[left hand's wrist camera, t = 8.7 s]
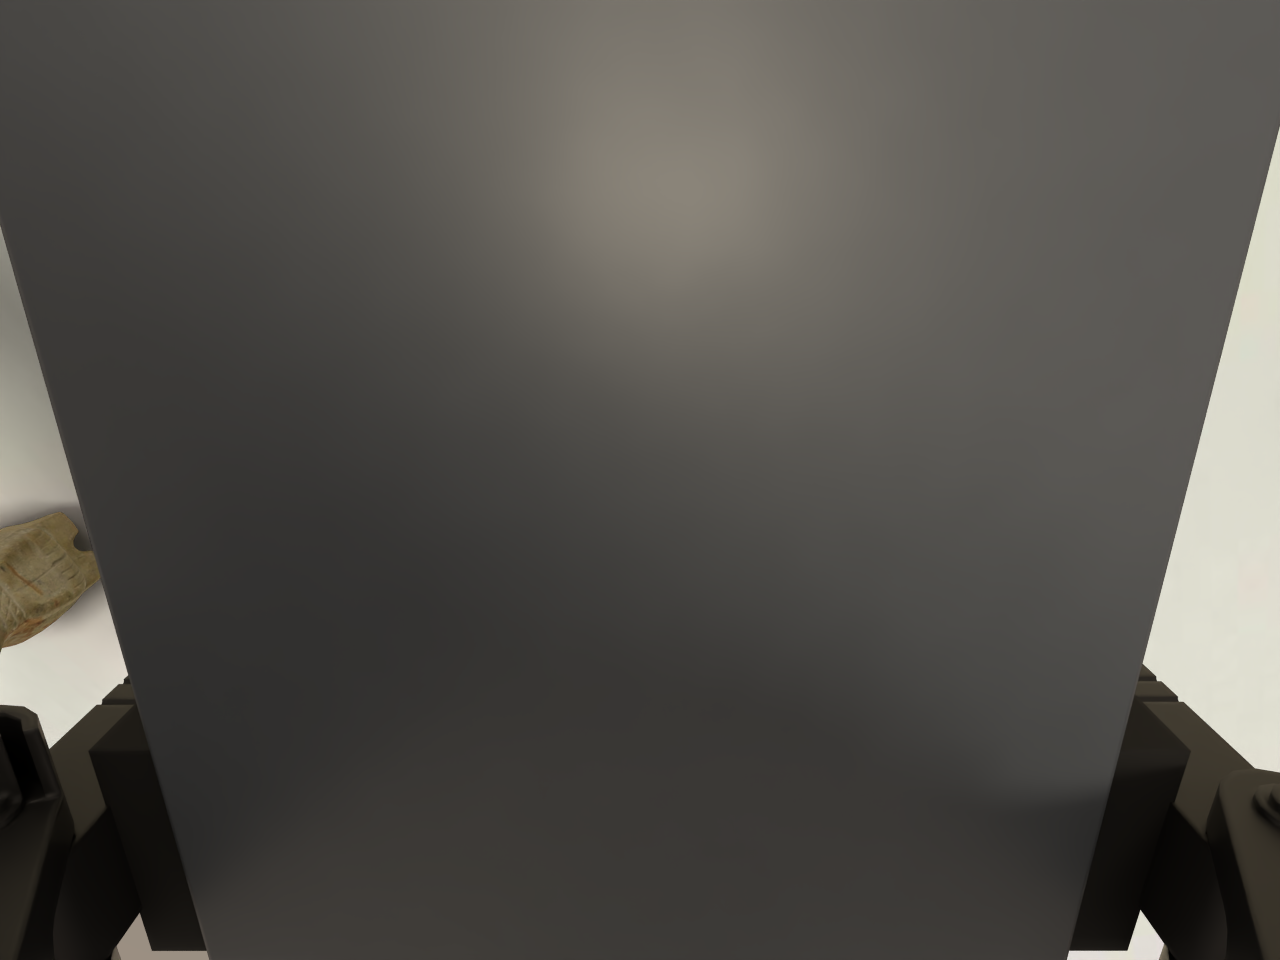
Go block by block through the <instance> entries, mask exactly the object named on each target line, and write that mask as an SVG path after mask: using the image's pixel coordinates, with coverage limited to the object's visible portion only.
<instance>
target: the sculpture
mask: <svg viewBox="0 0 1280 960" xmlns="http://www.w3.org/2000/svg"><path fill="white" fill-rule="evenodd" d="M78 532H79V531H78V529H77V528H76V526H75V525H74V524H73V522H72V521H71V520H70V519H69V518H68V517H67V516H66V515H65V514H64V513H61V512H57V513H54V514H50V515H47V516H44V517H42V518H40V519H37V520H34V521H31V522H27V523H24V524H19V525H14V526H9V527H6V528H2V529H0V652H1V649H2V648H4V647H9V646H13V645H17V644H19V643H22V642H24V641H26V640H28V639H29V638H31V637H33V636H34V635H36V634H38V633H40V632H41V631H43V630H44V629H45V628H47V627H48V626H49V625H51V624H52V623H53V622H55V621H56V620H57V619H58V618H59V617H61V616H62V615H63V614H64V613H65V612H66V611H67V610H69V609H70V608H71V607H72V606H73V605H74V604H75V602H76V601H77V600H78V598H79V597H80V596H81V595H82V593H83V592H85V591H86V590H87V589H88V588H90V587H91V586H92V585H93V584H94V583H96V582H97V581H98V580H99V579H100V578H101V577H100V573H99V570H98V566H97V563H96V559H95V556H94V552H93V551H90V550H87V551H79V550H77V549H76V548H75V547H74V544H73V541H74V538H75V536H76V535H77V534H78Z"/></svg>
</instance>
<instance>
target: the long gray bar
mask: <svg viewBox="0 0 1280 960" xmlns="http://www.w3.org/2000/svg"><path fill="white" fill-rule="evenodd" d="M1279 127H1280V0H0V226H1V229H2V233H3V236H4V240H5V243H6V247H7V250H8V254H9V257H10V261H11V264H12V268H13V271H14V275H15V278H16V282H17V285H18V289H19V292H20V296H21V299H22V303H23V306H24V310H25V313H26V317H27V320H28V324H29V327H30V331H31V335H32V338H33V342H34V345H35V349H36V352H37V356H38V359H39V363H40V366H41V370H42V373H43V377H44V380H45V384H46V387H47V391H48V394H49V398H50V401H51V405H52V408H53V412H54V415H55V419H56V422H57V426H58V429H59V433H60V436H61V440H62V443H63V447H64V450H65V454H66V458H67V461H68V465H69V468H70V472H71V475H72V479H73V482H74V486H75V489H76V493H77V496H78V500H79V503H80V507H81V510H82V514H83V517H84V521H85V524H86V528H87V531H88V535H89V538H90V542H91V545H92V549H93V552H94V556H95V559H96V563H97V566H98V570H99V573H100V577H101V581H102V584H103V588H104V591H105V595H106V598H107V602H108V605H109V609H110V612H111V616H112V619H113V623H114V626H115V630H116V633H117V637H118V640H119V644H120V647H121V651H122V654H123V658H124V661H125V665H126V668H127V672H128V675H129V679H130V682H131V686H132V689H133V693H134V696H135V700H136V704H137V707H138V711H139V714H140V718H141V721H142V725H143V728H144V732H145V735H146V739H147V742H148V746H149V749H150V753H151V756H152V760H153V763H154V767H155V770H156V774H157V777H158V781H159V784H160V788H161V791H162V795H163V798H164V802H165V805H166V809H167V812H168V816H169V819H170V823H171V827H172V830H173V834H174V837H175V841H176V844H177V848H178V851H179V855H180V858H181V862H182V865H183V869H184V872H185V876H186V879H187V883H188V886H189V890H190V893H191V897H192V900H193V904H194V907H195V911H196V914H197V918H198V921H199V925H200V928H201V932H202V935H203V939H204V942H205V946H206V950H207V953H208V957H209V960H1067V957H1068V953H1069V949H1070V945H1071V941H1072V937H1073V933H1074V929H1075V925H1076V921H1077V918H1078V914H1079V910H1080V906H1081V902H1082V898H1083V894H1084V890H1085V886H1086V882H1087V878H1088V874H1089V871H1090V867H1091V863H1092V859H1093V855H1094V851H1095V847H1096V843H1097V839H1098V835H1099V831H1100V827H1101V824H1102V820H1103V816H1104V812H1105V808H1106V804H1107V800H1108V796H1109V792H1110V788H1111V784H1112V781H1113V777H1114V773H1115V769H1116V765H1117V761H1118V757H1119V753H1120V749H1121V745H1122V741H1123V737H1124V734H1125V730H1126V726H1127V722H1128V718H1129V714H1130V710H1131V706H1132V702H1133V698H1134V694H1135V690H1136V687H1137V683H1138V679H1139V675H1140V671H1141V667H1142V663H1143V659H1144V655H1145V651H1146V647H1147V644H1148V640H1149V636H1150V632H1151V628H1152V624H1153V620H1154V616H1155V612H1156V608H1157V604H1158V600H1159V597H1160V593H1161V589H1162V585H1163V581H1164V577H1165V573H1166V569H1167V565H1168V561H1169V557H1170V554H1171V550H1172V546H1173V542H1174V538H1175V534H1176V530H1177V526H1178V522H1179V518H1180V514H1181V510H1182V507H1183V503H1184V499H1185V495H1186V491H1187V487H1188V483H1189V479H1190V475H1191V471H1192V467H1193V463H1194V460H1195V456H1196V452H1197V448H1198V444H1199V440H1200V436H1201V432H1202V428H1203V424H1204V420H1205V417H1206V413H1207V409H1208V405H1209V401H1210V397H1211V393H1212V389H1213V385H1214V381H1215V377H1216V373H1217V370H1218V366H1219V362H1220V358H1221V354H1222V350H1223V346H1224V342H1225V338H1226V334H1227V330H1228V326H1229V323H1230V319H1231V315H1232V311H1233V307H1234V303H1235V299H1236V295H1237V291H1238V287H1239V283H1240V280H1241V276H1242V272H1243V268H1244V264H1245V260H1246V256H1247V252H1248V248H1249V244H1250V240H1251V236H1252V233H1253V229H1254V225H1255V221H1256V217H1257V213H1258V209H1259V205H1260V201H1261V197H1262V193H1263V189H1264V186H1265V182H1266V178H1267V174H1268V170H1269V166H1270V162H1271V158H1272V154H1273V150H1274V146H1275V143H1276V139H1277V135H1278V131H1279Z"/></svg>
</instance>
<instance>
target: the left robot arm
mask: <svg viewBox="0 0 1280 960" xmlns="http://www.w3.org/2000/svg"><path fill="white" fill-rule="evenodd" d="M1140 910H1141V911H1142V912H1143V914H1144V915H1145V917H1146V918H1147V919H1148V921H1149V922H1150V924H1151V925H1152V927H1153V928H1154V929H1155V931H1156V932H1157V934H1158V935H1159V937H1160V938H1161V939H1162V941H1163V942H1164V946H1163V949H1162V952H1161V955H1160V958H1159V960H1280V773H1279V772H1273V771H1267V770H1261V769H1255V768H1254V767H1253V766H1252V765H1251V764H1250V763H1248V762H1247V761H1246V760H1245V759H1244V758H1243V757H1242V756H1241V755H1240V754H1239V753H1238V752H1237V751H1236V750H1235V749H1233V748H1232V747H1231V746H1230V745H1229V744H1228V743H1227V742H1226V741H1225V740H1224V739H1223V738H1222V737H1221V736H1220V735H1218V734H1217V733H1216V732H1215V731H1214V730H1213V729H1212V728H1211V727H1210V726H1209V725H1208V724H1207V723H1206V722H1204V721H1203V720H1202V719H1201V718H1200V717H1199V716H1198V715H1197V714H1196V713H1195V712H1194V711H1193V710H1192V709H1191V708H1189V707H1188V706H1187V705H1186V704H1185V703H1184V702H1179V701H1178V696H1177V695H1176V694H1174V693H1173V692H1172V691H1171V690H1170V689H1169V688H1168V687H1167V686H1166V685H1165V684H1164V683H1163V682H1162V681H1157V680H1156V676H1155V675H1154V674H1153V673H1152V672H1151V671H1150V670H1149V669H1148V668H1147V667H1145V666H1144V665H1143V664H1142V667H1141V671H1140V675H1139V679H1138V683H1137V687H1136V690H1135V694H1134V698H1133V702H1132V706H1131V710H1130V714H1129V718H1128V722H1127V726H1126V730H1125V734H1124V737H1123V741H1122V745H1121V749H1120V753H1119V757H1118V761H1117V765H1116V769H1115V773H1114V777H1113V781H1112V784H1111V788H1110V792H1109V796H1108V800H1107V804H1106V808H1105V812H1104V816H1103V820H1102V824H1101V827H1100V831H1099V835H1098V839H1097V843H1096V847H1095V851H1094V855H1093V859H1092V863H1091V867H1090V871H1089V874H1088V878H1087V882H1086V886H1085V890H1084V894H1083V898H1082V902H1081V906H1080V910H1079V914H1078V918H1077V921H1076V925H1075V929H1074V933H1073V937H1072V941H1071V945H1070V949H1069V951H1127V950H1128V947H1129V944H1130V941H1131V938H1132V934H1133V931H1134V928H1135V925H1136V922H1137V919H1138V916H1139V913H1140ZM139 913H140V915H141V918H142V921H143V924H144V927H145V930H146V933H147V936H148V940H149V943H150V946H151V949H152V951H207V950H206V946H205V942H204V939H203V935H202V932H201V928H200V925H199V921H198V918H197V914H196V911H195V907H194V904H193V900H192V897H191V893H190V890H189V886H188V883H187V879H186V876H185V872H184V869H183V865H182V862H181V858H180V855H179V851H178V848H177V844H176V841H175V837H174V834H173V830H172V827H171V823H170V819H169V816H168V812H167V809H166V805H165V802H164V798H163V795H162V791H161V788H160V784H159V781H158V777H157V774H156V770H155V767H154V763H153V760H152V756H151V753H150V749H149V746H148V742H147V739H146V735H145V732H144V728H143V725H142V721H141V718H140V714H139V711H138V707H137V704H136V700H135V696H134V693H133V689H132V686H131V682H130V679H129V675H128V676H127V677H126V678H125V679H124V683H123V684H118V685H117V686H116V687H115V688H114V689H113V690H112V691H111V692H110V693H109V694H108V695H107V696H106V697H105V698H103V699H102V704H101V705H96V706H95V707H94V708H93V709H92V710H91V711H90V712H89V713H87V714H86V715H85V716H84V717H83V718H82V719H81V720H80V721H79V722H78V723H77V724H76V725H75V726H74V727H73V728H72V729H70V730H69V731H68V732H67V733H66V734H65V735H64V736H63V737H62V738H61V739H60V740H59V741H58V742H57V743H56V744H54V745H53V746H52V747H51V748H50V749H49V748H48V745H47V742H46V739H45V736H44V733H43V730H42V727H41V724H40V721H39V718H38V715H37V714H36V713H34V712H32V711H31V710H29V709H27V708H26V707H23V706H10V705H0V960H121V958H120V955H119V952H118V949H117V944H118V943H119V941H120V940H121V939H122V937H123V936H124V934H125V933H126V931H127V930H128V929H129V927H130V926H131V924H132V923H133V921H134V920H135V918H136V917H137V916H138V914H139Z"/></svg>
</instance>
